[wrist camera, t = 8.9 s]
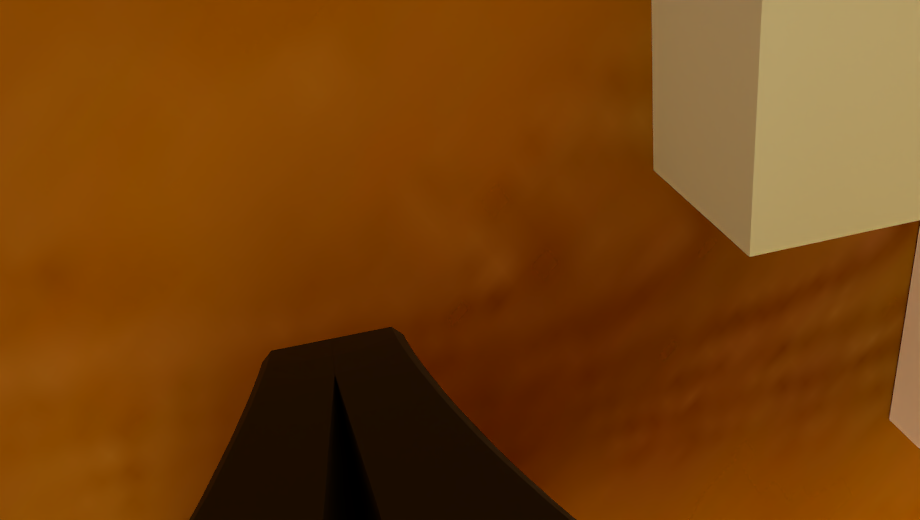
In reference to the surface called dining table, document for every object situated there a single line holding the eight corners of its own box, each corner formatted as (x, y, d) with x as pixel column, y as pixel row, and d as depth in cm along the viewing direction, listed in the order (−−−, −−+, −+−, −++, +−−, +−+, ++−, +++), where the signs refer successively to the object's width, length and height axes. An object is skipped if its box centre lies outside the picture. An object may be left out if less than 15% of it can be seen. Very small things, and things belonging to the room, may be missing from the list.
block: (930, 111, 20) (1092, 182, 16) (650, 167, 19) (749, 257, 15) (973, -172, 17) (1183, -169, 13) (646, -121, 16) (766, -101, 12)
